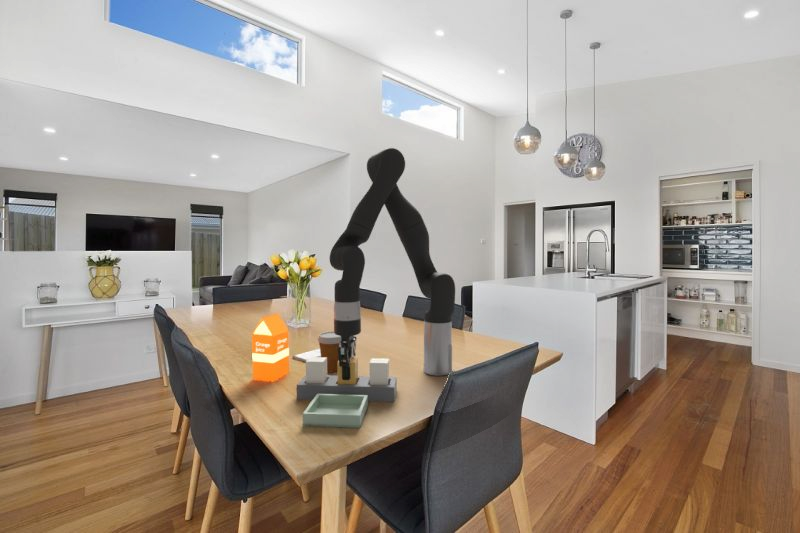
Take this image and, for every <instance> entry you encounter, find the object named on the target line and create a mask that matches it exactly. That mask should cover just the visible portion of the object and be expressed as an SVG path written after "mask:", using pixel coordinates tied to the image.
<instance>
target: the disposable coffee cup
mask: <svg viewBox="0 0 800 533" xmlns="http://www.w3.org/2000/svg"><path fill="white" fill-rule="evenodd" d="M317 341H318V343H319V344H318V345H319V349H320V352H321V357H327V373H336V372H338V369H337V362H338V361H339V357H338V347H339V342H340V341H341V336H339V335H336V334H335V333H334V331H325V332H321V333H319V335H318V338H317Z"/></svg>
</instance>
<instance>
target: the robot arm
mask: <svg viewBox="0 0 800 533" xmlns="http://www.w3.org/2000/svg"><path fill="white" fill-rule="evenodd" d="M405 168H406V160H405V157H404V154H403V153H402V152H401V151H400V150H399V149H398V148H394V147H388V148H384V149H383V150H381V151H379V152H377V153H375V154H373V155H371V156H369V158H368V160H367V162H366V169H367V170H366V172H367V175H368V178H369V179H370V181H371V185H370V186H369V188H368V190H367V192H365V195H363V196H362V198H361V199H360V200H359V202H358V204H357V206H356V207H355V209H354V210H353V211H352V212H353V213H352V215H351V216H350V218H349V221H348V223H347V226H346V229H345V230H344V231H343V232H342V233H341V235H340V236H339V237H338V239H337V240H336V242H335V243H334V244H333V246H332V248H331V250H330V252H329V264H330V266H331V267H332V268H333V269H334V270H336V271H342V275H341V279H339V280H337V281H336V282H335V283H334V305H333V332H334V333H335V334H336V335H339V336H341V341H340V342H339V347H338V357H339V366H340V367H342V379H343V380H349V379H350V366H351V358H356V354H357V352H356V350H357V347H356V346H357V335H360V334H361V332H362V310H361V301H360V300H361V290H360V289H361V288H360V285H361V282H362V279H363V275H364V270H365V265H366V259H365V254H364V252H363V250H362V249H361V247H359V246H360V245H363V244H365V243H367V242H368V240H369V239H370V237H371V234H372V232H373V229H374V227H375V225H376V222H377V220H378V218H379V216H380V213H381V211H382V209H383V207H384V206H385V208H386V211H387V213H388V215H389V217H390V219H391V221H392V224H393V226H394V228H395V231H396V233H397V236H398V237H399V239H400V242H401V244H402V245H403V248H404V251H405V252H406V256H407V257H408V260H409V261H410V262H409V263H410V264H411V266H412V268H413V269H412V270H413V272H414V274H415V278H416V280H417V284H418V287H419V289H420V292H421V294H422V295H423V297H425V298H426V299H429V300H430V306H429V309H428V310H426V311H425V312H424V314H423V372H424V373H425V374H427V375H430V376H431V375H432V376H437V377H438V376H439V377H441V376H446V375H450V374H449V373H450V372H452V373H453V345H452V341H453V340H452V337H453V335H452V330H453V329H452V328H453V327H452V326H453V325H452V324H453V322H452V321H453V319H452V318H453V315H454V312H455V305H456V303H455V301H456V284H455V281H454V279H453V276H452V275H450V274H448V273H445V272H444V273H443V272H438V270H437V269H436V267H435V265H434V263H433V261H432V259H431V255H430V253H431V252H430V235H429V232H428V228H427V226H426V223H425V221H424V219H423V217H422V214H421V213H420V212H419V210H417V208H416V207H415V206H414V205H413V204H412V203H411V202H410V201H409V200H408V199H407V198H406V197H405V196H404V195H403V193H402V192H401V190H400V188H399V186H398V184H397V183H398V182H399V180H400V179H401V177H402V176H403V174H404V172H405ZM344 360H346V362H344Z"/></svg>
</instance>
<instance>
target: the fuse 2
mask: <svg viewBox="0 0 800 533" xmlns="http://www.w3.org/2000/svg"><path fill="white" fill-rule="evenodd" d="M369 376H370V385H389V377H390V358H372V357H371V358H370V361H369Z"/></svg>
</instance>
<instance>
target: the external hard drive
mask: <svg viewBox="0 0 800 533" xmlns="http://www.w3.org/2000/svg"><path fill="white" fill-rule="evenodd" d="M310 357H321V352H320V348H316V349H313V350H310V351H306V352H302V353H299V354H294V355H292V358H293V359H295V360H298V361H300V362H304V363H306V361H307V360H308V359H309V358H310Z"/></svg>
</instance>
